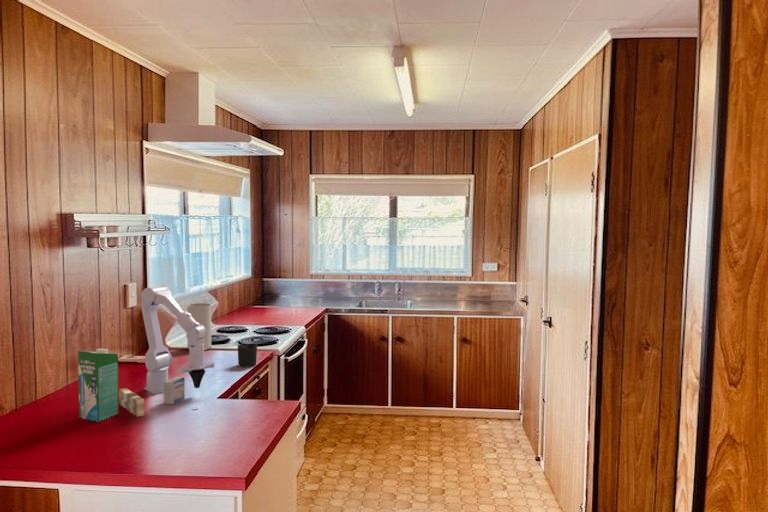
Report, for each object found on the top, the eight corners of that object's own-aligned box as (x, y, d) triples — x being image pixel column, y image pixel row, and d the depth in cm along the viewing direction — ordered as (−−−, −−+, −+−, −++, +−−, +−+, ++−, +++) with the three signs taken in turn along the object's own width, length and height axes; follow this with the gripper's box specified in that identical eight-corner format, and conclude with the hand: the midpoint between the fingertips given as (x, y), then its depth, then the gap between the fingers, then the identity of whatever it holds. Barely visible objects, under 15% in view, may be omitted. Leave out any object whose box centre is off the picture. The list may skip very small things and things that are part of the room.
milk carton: (118, 414, 193) (118, 347, 191) (98, 422, 185) (97, 353, 183) (100, 410, 196) (99, 345, 194) (78, 419, 187) (77, 350, 186)
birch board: (119, 404, 203) (119, 388, 202) (126, 403, 205) (125, 387, 204) (137, 417, 190) (137, 400, 190) (144, 415, 192) (144, 398, 192)
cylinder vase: (194, 345, 300) (194, 302, 298) (215, 347, 298) (215, 303, 296) (183, 351, 287) (183, 306, 286) (204, 352, 286) (204, 307, 284)
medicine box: (173, 404, 204) (173, 383, 203) (163, 403, 205) (163, 382, 204) (184, 398, 212) (184, 377, 211) (175, 397, 213) (175, 376, 212)
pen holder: (250, 368, 256) (250, 348, 256) (233, 366, 259) (233, 346, 259) (260, 363, 265) (260, 344, 265) (244, 361, 268) (244, 342, 268)
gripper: (184, 359, 206) (184, 393, 207) (217, 353, 216) (217, 385, 217) (176, 356, 211) (176, 389, 212) (209, 350, 221) (209, 382, 222)
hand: (196, 387), depth 215 cm, fingers closed
